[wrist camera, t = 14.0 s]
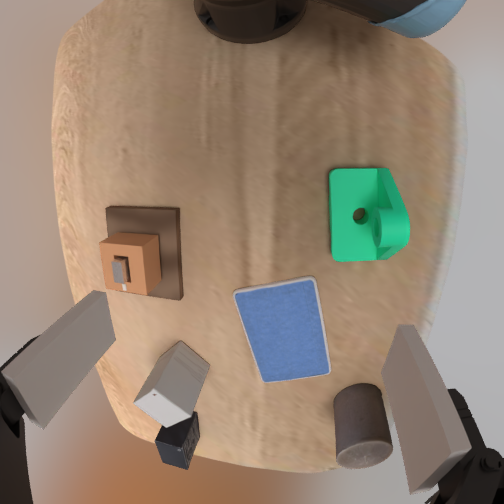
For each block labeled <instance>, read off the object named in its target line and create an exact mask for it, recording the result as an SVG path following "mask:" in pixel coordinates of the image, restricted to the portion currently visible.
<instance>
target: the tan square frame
mask: <svg viewBox="0 0 504 504" xmlns="http://www.w3.org/2000/svg"><path fill="white" fill-rule="evenodd" d="M99 245H100V252H101V260H102V266H103V273H104V279H105V285H106V289H112V290H117V291H123V292H129V293H135V294H141V295H148V294H149V293H150V292H151V291H152V290H153V289H154V288H155V287H156V285H157V284H158V283H159V282H160V281H161V268H160V255H159V240H158V235H149V234H135V233H121V232H117V233H116V234H114V235H112V236H110V237H108V238H106V239H105V240H103V241H101V242H99ZM119 256H127V257H128V260H129V268H130V276H131V278H130V279H129V280H128V281H127V282H126V283H124V284H122V283H116V282H114V276H113V270H112V263H111V261H113V260H114V259H116V258H117V257H119Z"/></svg>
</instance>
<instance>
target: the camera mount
mask: <svg viewBox="0 0 504 504" xmlns="http://www.w3.org/2000/svg"><path fill="white" fill-rule="evenodd" d="M329 194H330V195H329V215H330V231H331V253H332V256H333V258H334V260H336V261H338V262H346V261H367V260H387V259H388V258H390V257H391V256H392V255H394V254H395V253H396V252H398V251H399V250H401V249H402V248H403V247H405V246H406V245H407V243H408V241H409V236H410V221H409V216H408V213H407V210H406V208H405V205H404V203H403V200H402V198H401V196H400V193H399V191H398V189H397V186H396V184H395V182H394V180H393V177H392V175H391V173H390V171H389V169H387V168H335V169H333V170H331V171H330V173H329ZM358 208H364V210H365V214H364V217H363V218H362V219H360V220H354V219H353V213H354V211H355V210H356V209H358Z"/></svg>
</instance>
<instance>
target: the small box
mask: <svg viewBox="0 0 504 504" xmlns="http://www.w3.org/2000/svg"><path fill="white" fill-rule="evenodd" d="M199 438H200V433H199V425H198V416H197V413H196V412H193V413H192V416H191V417H190V418H187V419H185V420H183V421H180V422H178V423H176V424H174V425H172V426H169V427H167V428H166V427H165V426H163V425H162V427H161V429H160V431H159V433H158V435H157V437H156V439H155V443H156V446H157V448H158V451H159V454H160V456H161V459H162V461H163V463H166V464H169V465H173V466H176V467H179V468H183V469H186V470H188V468H189V465H190V461H191V459H192V456H193V453H194V450H195V448H196V445H197V442H198V440H199Z"/></svg>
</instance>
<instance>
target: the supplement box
mask: <svg viewBox="0 0 504 504" xmlns="http://www.w3.org/2000/svg"><path fill="white" fill-rule="evenodd" d="M209 367H210V365H209V364H208V363H207V362H206V361H204V360H203V359H202V358H201V357H200V356H198V355H197V354H196V353H195V352H194V351H192V350H191V349H190V348H189V347H188V346H187V345H185V344H184V343H183V342H182V341H179V342H178V343H177V344H176V345H174V346H173V347H172V348H171V349H169V350H168V351H167V352H166V353H164V354H163V355H162V356H161V357H160V358H159V359H158V361H157V363H156V364H155V366H154V368H153V369H152V371H151V373H150V375H149V376H148V378H147V380H146V381H145V383H144V385H143V386H142V388H141V390H140V392H139V393H138V395H137V397H136V399H135V400H134V402H133V404H135V405H136V406H137V407H139V408H140V409H141V410H143V411H144V412H145V413H147V414H148V415H149V416H151V417H152V418H153V419H155V420H156V421H158V422H159V423H160V424H162V425H163V426H165V427H166V428H167V427H169V426H172V425H174V424H176V423H178V422H180V421H183V420H185V419H187V418H190V417H191V416H192V413H193V410H194V407H195V404H196V402H197V399H198V397H199V394H200V391H201V389H202V386H203V383H204V381H205V378H206V375H207V372H208V369H209Z"/></svg>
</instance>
